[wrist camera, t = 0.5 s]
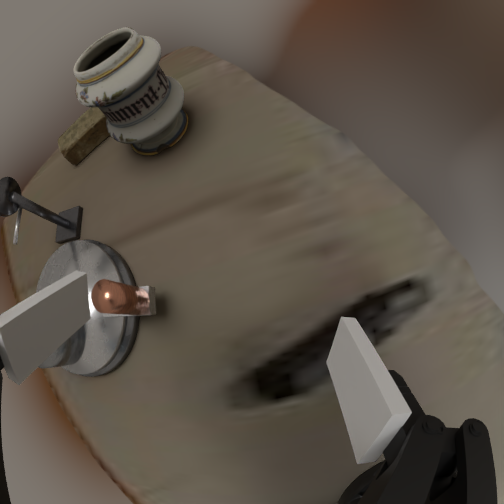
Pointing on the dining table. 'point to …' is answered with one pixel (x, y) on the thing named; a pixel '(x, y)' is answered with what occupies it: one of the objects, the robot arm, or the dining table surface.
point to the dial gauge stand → (38, 212)
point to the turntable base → (132, 320)
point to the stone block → (83, 135)
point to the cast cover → (67, 351)
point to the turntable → (99, 300)
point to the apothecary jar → (132, 91)
